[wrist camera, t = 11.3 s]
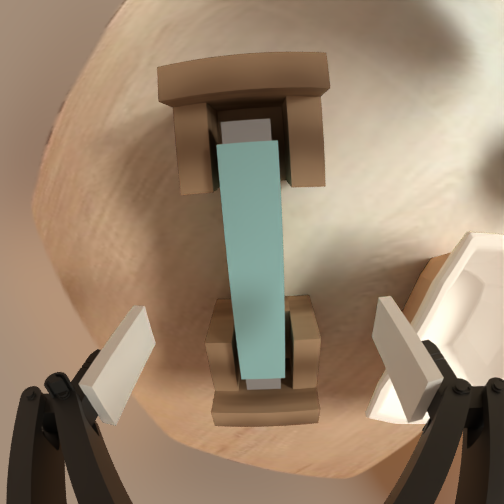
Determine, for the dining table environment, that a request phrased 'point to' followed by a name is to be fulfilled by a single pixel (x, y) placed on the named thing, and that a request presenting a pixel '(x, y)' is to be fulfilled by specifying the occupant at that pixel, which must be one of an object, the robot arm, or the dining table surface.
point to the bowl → (456, 317)
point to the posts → (291, 169)
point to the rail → (254, 248)
